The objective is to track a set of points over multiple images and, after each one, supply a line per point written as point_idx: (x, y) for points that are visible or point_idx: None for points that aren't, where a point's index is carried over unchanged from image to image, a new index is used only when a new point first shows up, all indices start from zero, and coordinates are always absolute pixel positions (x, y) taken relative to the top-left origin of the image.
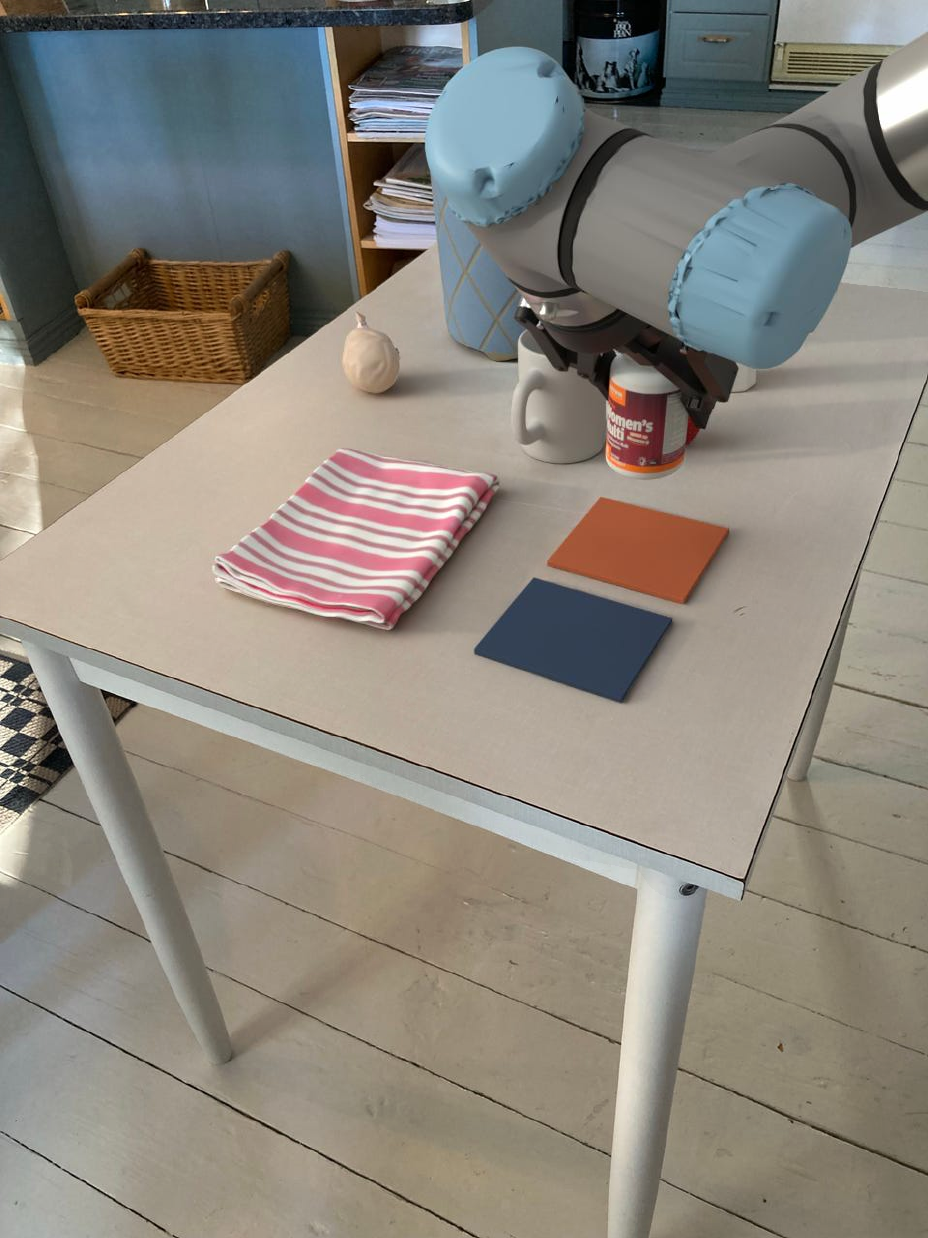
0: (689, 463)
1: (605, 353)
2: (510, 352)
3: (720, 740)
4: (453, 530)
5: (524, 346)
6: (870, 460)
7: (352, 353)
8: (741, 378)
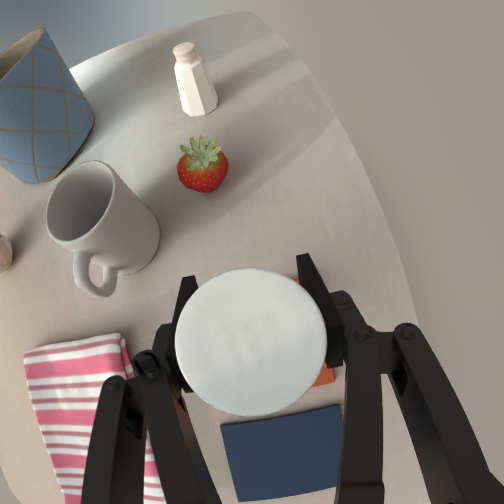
0: (230, 206)
1: (172, 362)
2: (55, 171)
3: (409, 461)
4: None
5: (54, 220)
6: (336, 136)
7: None
8: (211, 102)
